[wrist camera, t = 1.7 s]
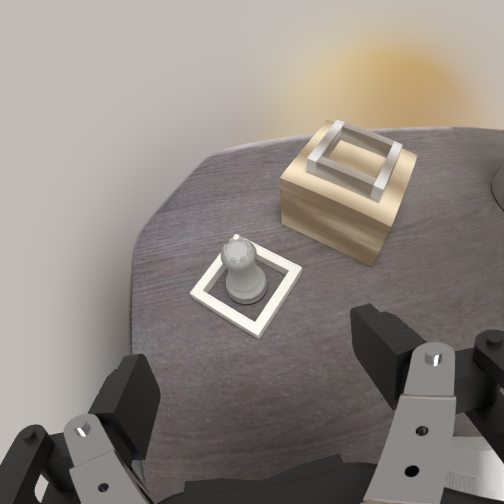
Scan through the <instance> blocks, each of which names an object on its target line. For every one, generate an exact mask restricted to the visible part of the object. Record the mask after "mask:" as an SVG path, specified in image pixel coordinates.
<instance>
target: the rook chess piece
mask: <svg viewBox="0 0 504 504" xmlns="http://www.w3.org/2000/svg"><path fill="white" fill-rule="evenodd" d="M256 256H257V252H256V248H255V246H254V245H253V243H251V242H250V241H249V240H244V237H239V238H238V239H235V240H234V238H231V239H229V242H228V243H227V244H224V246H223V249H222V251H221V261H222V263H223V265H224V266H226V268H227V269H228V271H229V273H228V275H227V278H226V288H227V292H228V294H229V296H230V297H231V298H232V299H233V300H234V301H236V302H238V303H242V304H251V303H254V302H256V301H258V300H260V299H261V298H262V297H263V296H264V294H265V293H266V290H267V287H268V284H267V278H266V275H265V273H264V272H263V270H262V269H261V268H260V267H258V266H257V265H255V264H256V260H255V259H256Z"/></svg>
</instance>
